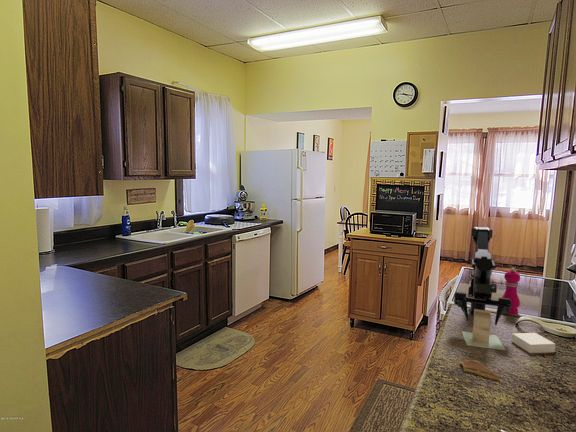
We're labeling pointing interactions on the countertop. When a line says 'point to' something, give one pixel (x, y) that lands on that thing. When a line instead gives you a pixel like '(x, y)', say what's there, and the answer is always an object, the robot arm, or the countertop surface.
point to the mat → (493, 344)
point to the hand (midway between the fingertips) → (481, 323)
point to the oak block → (481, 327)
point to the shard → (478, 369)
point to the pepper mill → (512, 290)
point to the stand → (533, 342)
